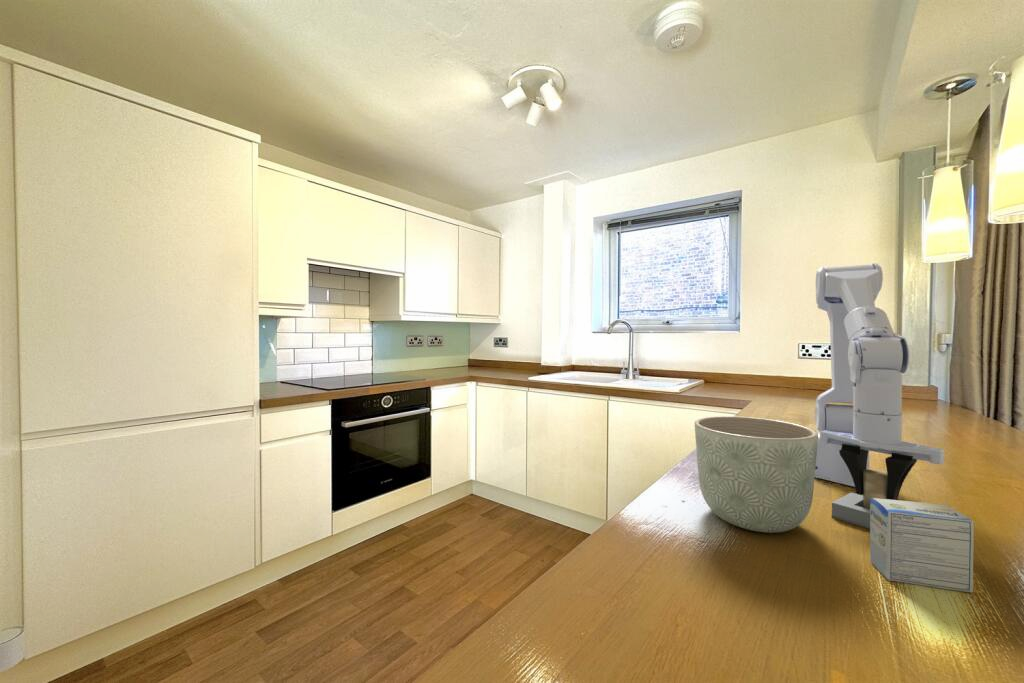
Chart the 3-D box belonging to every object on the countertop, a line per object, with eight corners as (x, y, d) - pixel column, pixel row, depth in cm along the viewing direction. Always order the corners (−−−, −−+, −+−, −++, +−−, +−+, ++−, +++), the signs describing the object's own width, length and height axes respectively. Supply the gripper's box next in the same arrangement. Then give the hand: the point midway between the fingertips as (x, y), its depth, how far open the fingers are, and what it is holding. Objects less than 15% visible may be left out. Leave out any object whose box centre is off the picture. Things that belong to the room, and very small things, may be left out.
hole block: (831, 517, 65) (831, 502, 65) (850, 506, 69) (851, 492, 69) (907, 540, 58) (907, 524, 58) (923, 526, 62) (923, 511, 62)
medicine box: (947, 573, 50) (947, 504, 50) (974, 595, 45) (975, 519, 45) (868, 562, 52) (869, 496, 52) (888, 582, 48) (888, 510, 48)
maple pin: (859, 509, 64) (859, 471, 64) (867, 504, 66) (867, 468, 66) (886, 516, 61) (886, 477, 61) (893, 511, 63) (893, 473, 63)
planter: (697, 492, 76) (697, 412, 76) (807, 510, 68) (807, 421, 68) (690, 530, 61) (690, 431, 61) (830, 559, 53) (830, 444, 53)
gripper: (812, 408, 67) (812, 487, 67) (934, 423, 55) (934, 520, 55) (829, 404, 71) (829, 480, 71) (948, 417, 59) (947, 509, 59)
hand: (876, 497), depth 63 cm, fingers closed on maple pin, 3 cm apart
